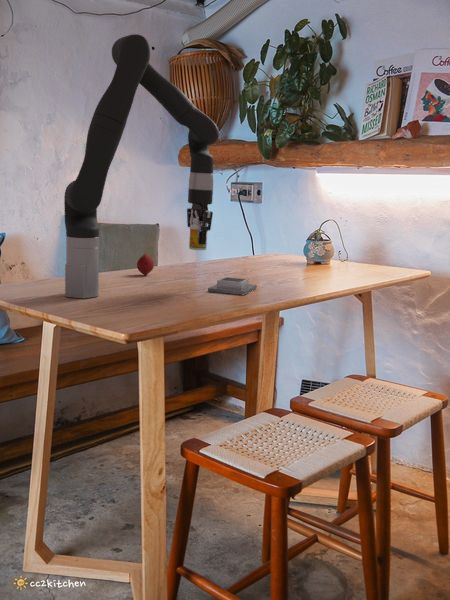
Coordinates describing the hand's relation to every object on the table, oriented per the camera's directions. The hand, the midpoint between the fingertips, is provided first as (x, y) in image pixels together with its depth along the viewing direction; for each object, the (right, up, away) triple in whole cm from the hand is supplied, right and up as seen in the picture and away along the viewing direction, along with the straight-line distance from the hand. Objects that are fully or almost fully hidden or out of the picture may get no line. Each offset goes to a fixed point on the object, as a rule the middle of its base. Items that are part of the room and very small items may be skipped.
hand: (197, 242), depth 213 cm
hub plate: (+11, -15, +6) cm, 19 cm away
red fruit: (-20, -9, +27) cm, 35 cm away
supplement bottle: (0, -2, 0) cm, 2 cm away
